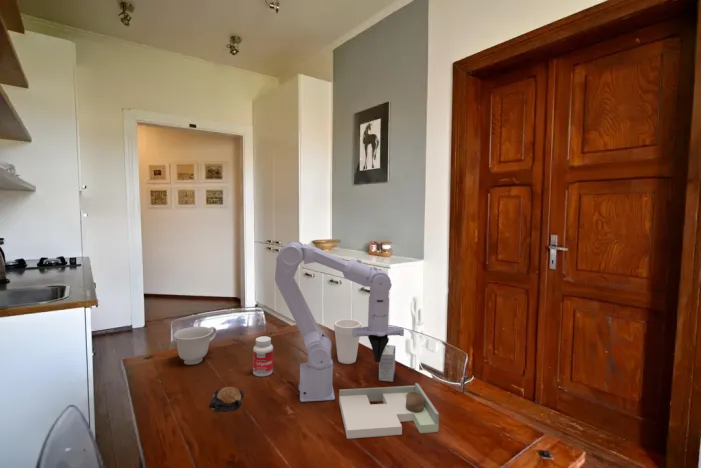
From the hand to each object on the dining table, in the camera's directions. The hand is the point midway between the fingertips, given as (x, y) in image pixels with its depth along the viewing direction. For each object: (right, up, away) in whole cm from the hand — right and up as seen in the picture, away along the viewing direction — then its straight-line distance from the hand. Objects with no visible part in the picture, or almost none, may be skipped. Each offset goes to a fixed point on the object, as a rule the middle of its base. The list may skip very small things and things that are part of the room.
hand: (377, 360), depth 101 cm
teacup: (-60, -7, +21) cm, 64 cm away
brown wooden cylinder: (+9, -9, -9) cm, 16 cm away
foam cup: (-9, -8, +24) cm, 27 cm away
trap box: (+1, -11, -10) cm, 15 cm away
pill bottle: (-35, -9, +12) cm, 38 cm away
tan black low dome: (-41, -10, -4) cm, 42 cm away
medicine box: (+4, -9, +12) cm, 16 cm away
